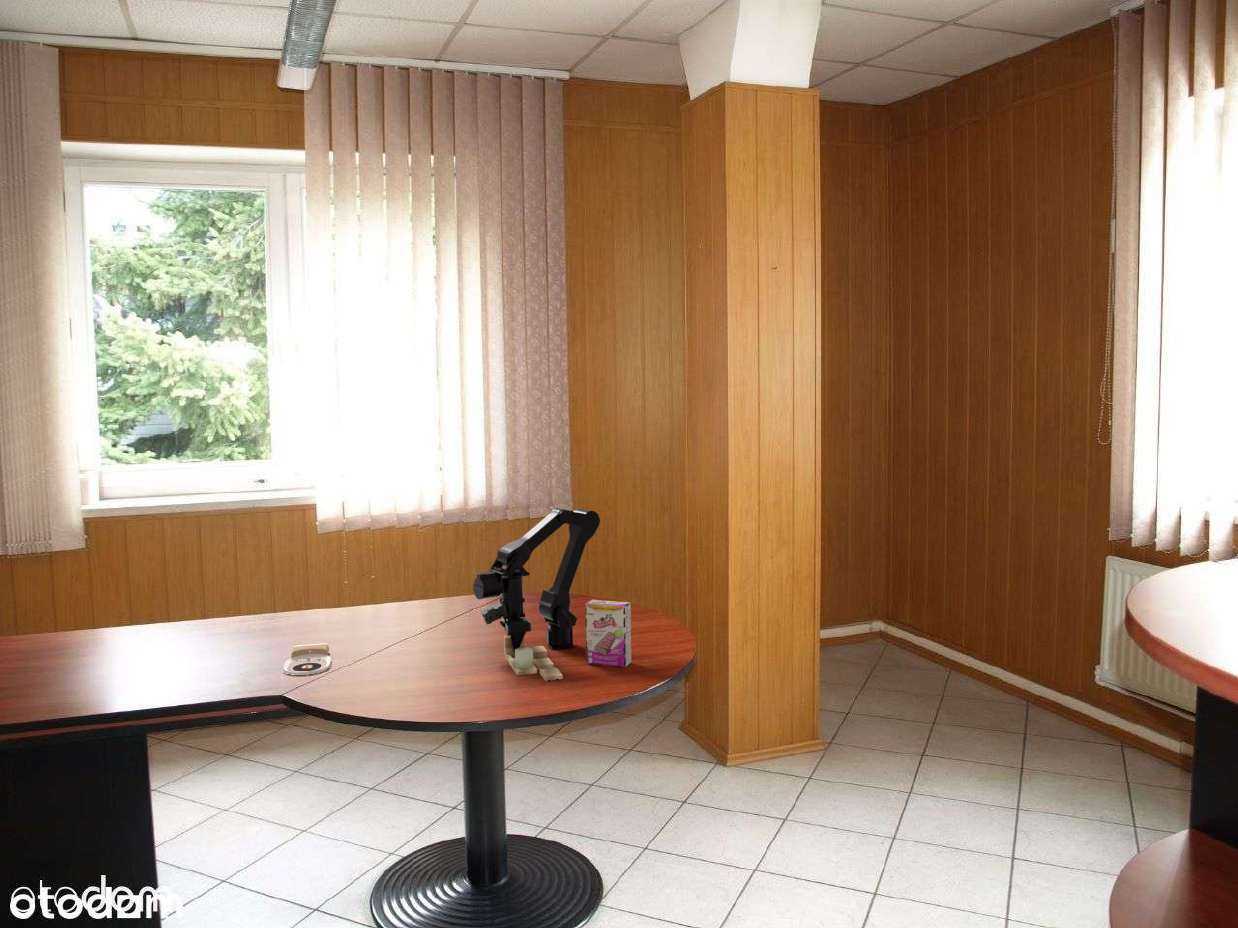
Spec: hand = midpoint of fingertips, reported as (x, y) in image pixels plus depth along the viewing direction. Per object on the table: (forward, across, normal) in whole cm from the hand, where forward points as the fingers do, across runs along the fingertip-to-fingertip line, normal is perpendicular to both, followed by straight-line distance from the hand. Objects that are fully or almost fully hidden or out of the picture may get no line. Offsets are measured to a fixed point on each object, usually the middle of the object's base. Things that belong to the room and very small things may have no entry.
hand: (514, 650), depth 283 cm
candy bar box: (+2, +16, +22) cm, 27 cm away
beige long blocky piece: (+1, +8, 0) cm, 8 cm away
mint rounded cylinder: (0, +14, 0) cm, 14 cm away
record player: (+2, -12, -53) cm, 55 cm away
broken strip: (+1, +13, +5) cm, 14 cm away
